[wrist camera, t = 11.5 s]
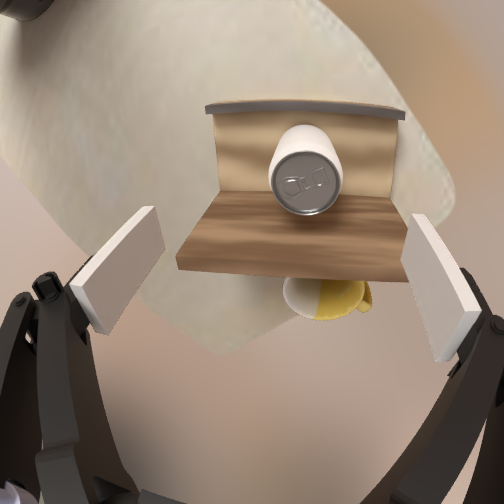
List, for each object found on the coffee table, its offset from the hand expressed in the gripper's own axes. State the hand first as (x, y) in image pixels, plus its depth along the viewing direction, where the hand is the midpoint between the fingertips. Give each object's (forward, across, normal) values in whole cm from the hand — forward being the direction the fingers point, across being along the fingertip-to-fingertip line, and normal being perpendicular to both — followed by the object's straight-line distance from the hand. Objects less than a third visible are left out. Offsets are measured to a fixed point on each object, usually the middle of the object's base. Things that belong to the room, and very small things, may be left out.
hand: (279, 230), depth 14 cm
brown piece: (+24, +1, -2) cm, 24 cm away
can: (+22, +1, -1) cm, 22 cm away
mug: (+25, +5, -18) cm, 31 cm away
